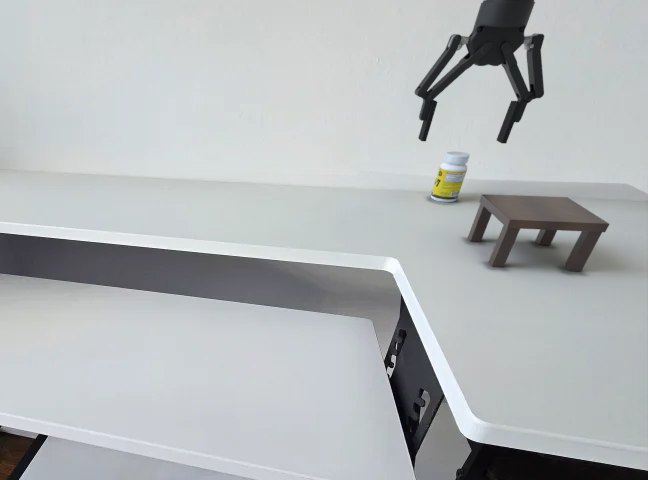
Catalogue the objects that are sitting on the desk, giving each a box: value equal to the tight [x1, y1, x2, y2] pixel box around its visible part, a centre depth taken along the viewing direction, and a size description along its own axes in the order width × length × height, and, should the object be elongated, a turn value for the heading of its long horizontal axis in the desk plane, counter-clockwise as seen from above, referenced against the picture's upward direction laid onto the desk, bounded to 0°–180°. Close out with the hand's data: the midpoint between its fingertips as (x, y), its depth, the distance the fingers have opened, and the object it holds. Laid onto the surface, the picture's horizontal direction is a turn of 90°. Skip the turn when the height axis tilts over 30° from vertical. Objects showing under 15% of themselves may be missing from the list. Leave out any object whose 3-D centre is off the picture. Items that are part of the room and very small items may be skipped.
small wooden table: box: [467, 193, 610, 272], centre depth 73 cm, size 12×12×7 cm
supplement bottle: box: [430, 151, 470, 203], centre depth 95 cm, size 5×5×8 cm
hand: (460, 141), depth 92 cm, fingers open, 13 cm apart
